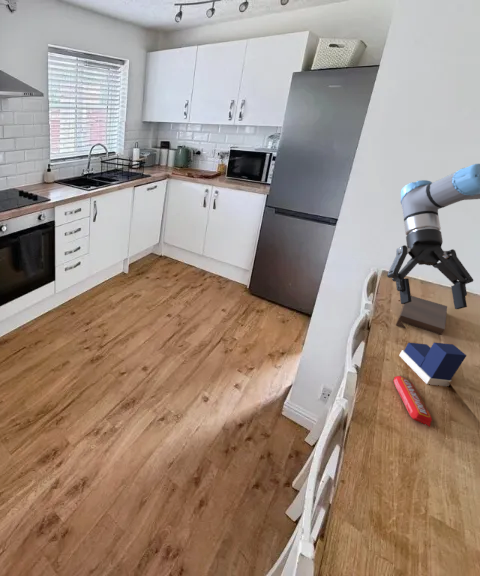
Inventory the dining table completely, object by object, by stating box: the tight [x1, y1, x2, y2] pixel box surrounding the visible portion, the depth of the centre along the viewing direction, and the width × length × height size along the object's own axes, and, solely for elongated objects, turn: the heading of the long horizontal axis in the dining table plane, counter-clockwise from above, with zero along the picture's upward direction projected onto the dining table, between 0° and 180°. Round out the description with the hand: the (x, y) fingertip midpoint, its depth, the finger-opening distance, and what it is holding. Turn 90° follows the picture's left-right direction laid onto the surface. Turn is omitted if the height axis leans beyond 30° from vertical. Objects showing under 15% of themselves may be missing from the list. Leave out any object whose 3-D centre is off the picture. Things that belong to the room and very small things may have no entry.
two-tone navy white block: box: [398, 341, 467, 387], centre depth 98 cm, size 12×5×10 cm, turn 173°
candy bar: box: [393, 375, 433, 427], centre depth 88 cm, size 16×4×3 cm, turn 159°
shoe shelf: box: [395, 295, 448, 336], centre depth 122 cm, size 20×11×4 cm, turn 138°
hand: (433, 305), depth 98 cm, fingers open, 13 cm apart
